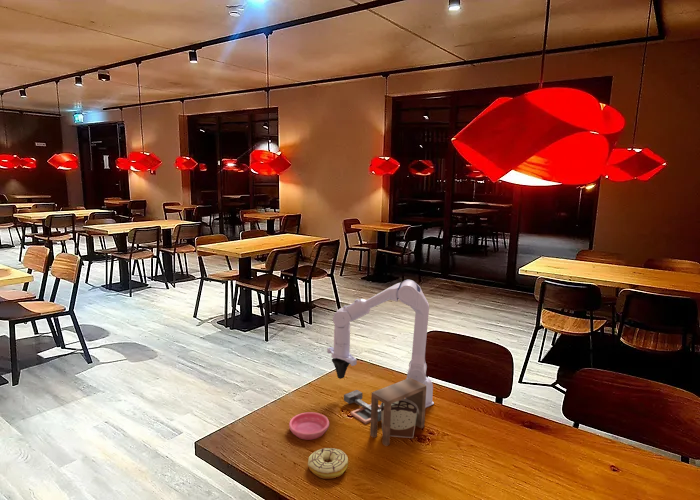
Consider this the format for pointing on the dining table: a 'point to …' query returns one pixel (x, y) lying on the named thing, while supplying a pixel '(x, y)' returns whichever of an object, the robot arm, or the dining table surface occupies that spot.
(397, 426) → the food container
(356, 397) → the grey piece
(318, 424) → the pink shallow round bowl
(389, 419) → the tunnel
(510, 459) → the dining table surface
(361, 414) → the picture frame
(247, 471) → the dining table surface
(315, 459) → the decorated donut
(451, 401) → the dining table surface
